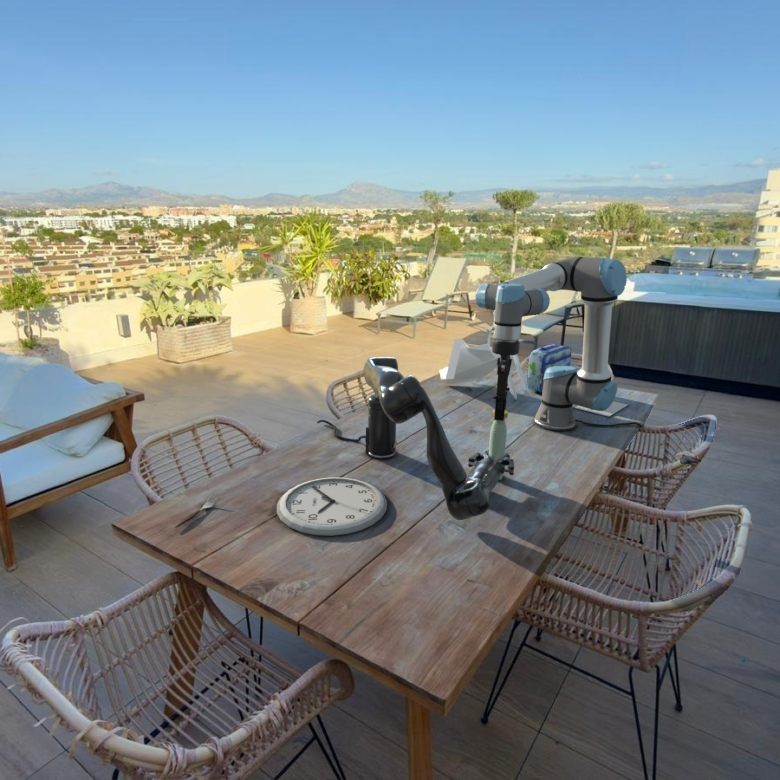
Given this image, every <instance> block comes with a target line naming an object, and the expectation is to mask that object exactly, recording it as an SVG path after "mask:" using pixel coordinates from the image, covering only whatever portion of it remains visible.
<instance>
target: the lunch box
mask: <svg viewBox="0 0 780 780" xmlns="http://www.w3.org/2000/svg"><path fill="white" fill-rule="evenodd" d="M571 361H572V348H571V347H570V346H567V345H566V346H565V345H561V344H556V343H555V344H554V343H553V344H548V345H545V346H541V347H539V348H536V349H534V350H532V351H531V353H530V355H529V357H528V363H527V375H526V384H527V387H528V390H529V391H532V392H533V391H534V392H539V393H540V394H542V391H543V381H544V380H543V378H544V374H545V371H546V369H547V368H550V367H554V366H571Z"/></svg>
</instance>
